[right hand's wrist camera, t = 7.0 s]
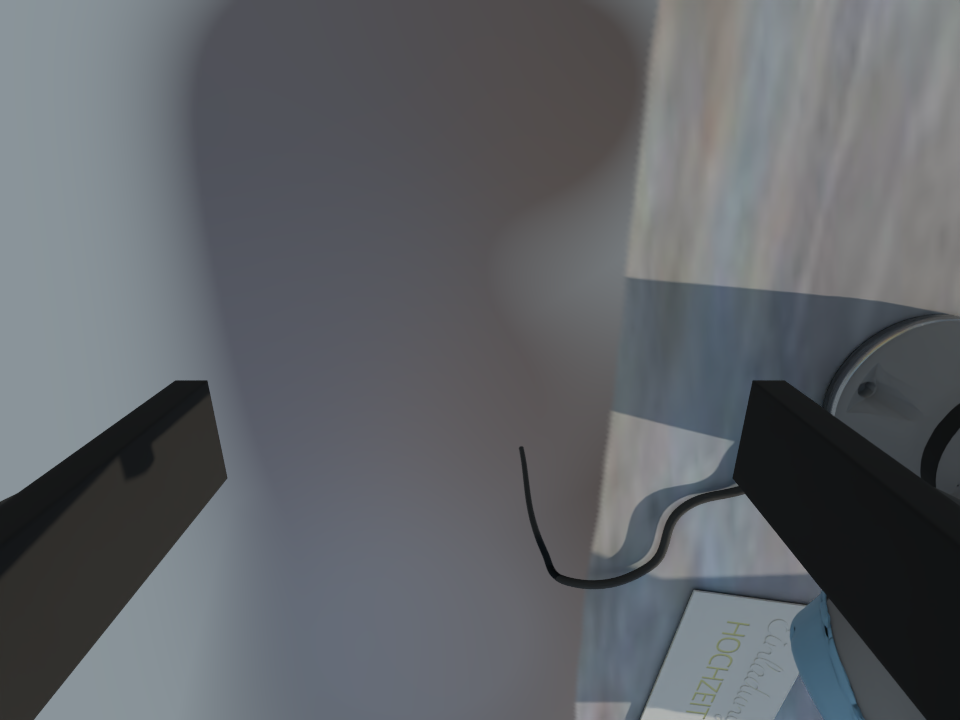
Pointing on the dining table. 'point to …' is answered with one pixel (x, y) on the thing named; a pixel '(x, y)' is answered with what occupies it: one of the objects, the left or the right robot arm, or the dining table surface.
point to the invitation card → (726, 661)
